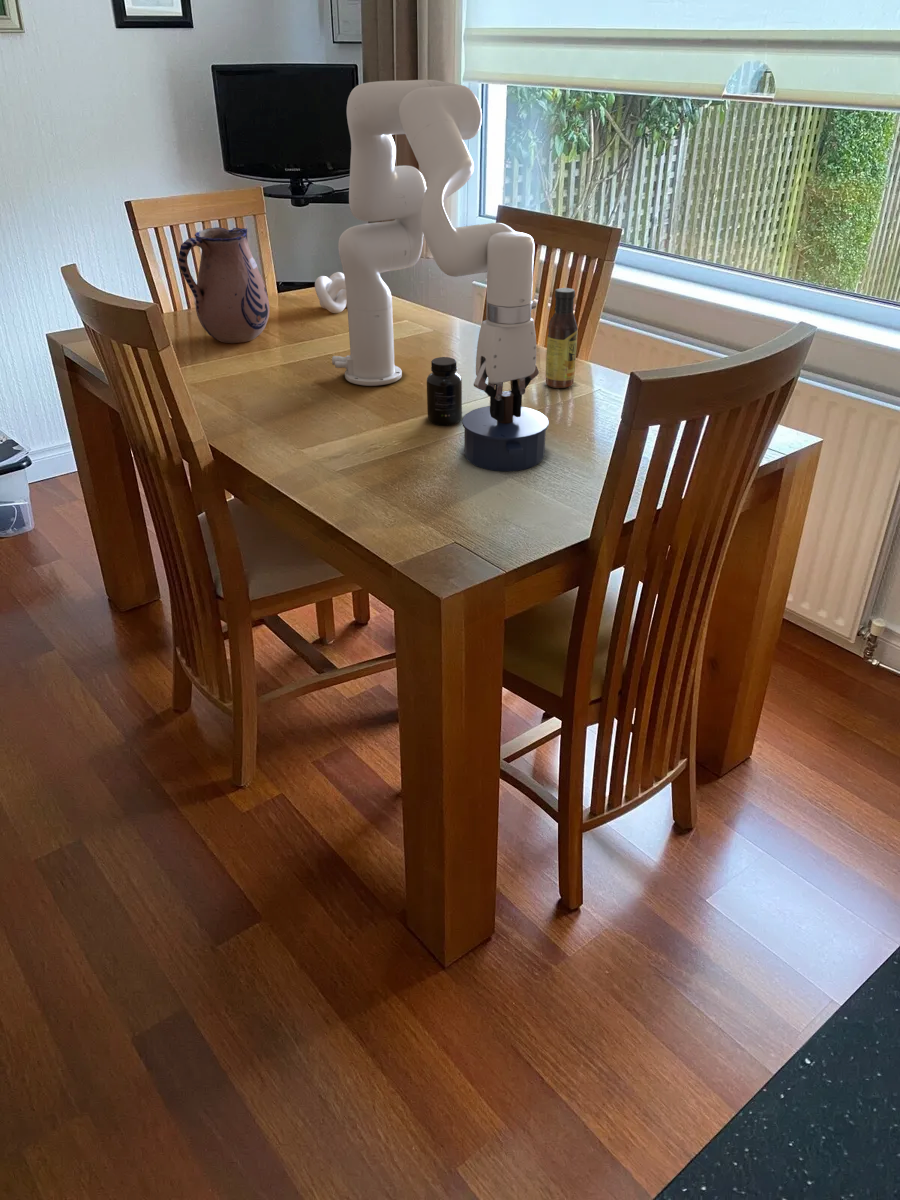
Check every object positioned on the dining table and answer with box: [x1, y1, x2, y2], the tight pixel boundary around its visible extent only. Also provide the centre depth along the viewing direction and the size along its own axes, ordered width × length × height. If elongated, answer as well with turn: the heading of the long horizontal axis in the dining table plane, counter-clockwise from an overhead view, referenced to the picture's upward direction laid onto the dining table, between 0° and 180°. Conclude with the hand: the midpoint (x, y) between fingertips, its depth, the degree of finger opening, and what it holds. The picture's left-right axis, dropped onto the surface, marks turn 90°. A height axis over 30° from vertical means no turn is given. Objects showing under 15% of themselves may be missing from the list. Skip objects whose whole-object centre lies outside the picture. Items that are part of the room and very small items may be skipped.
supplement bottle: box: [426, 356, 463, 427], centre depth 174 cm, size 7×7×12 cm
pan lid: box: [461, 390, 550, 441], centre depth 158 cm, size 15×15×6 cm
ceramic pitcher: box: [178, 226, 271, 344], centre depth 214 cm, size 18×21×25 cm
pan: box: [463, 427, 547, 472], centre depth 161 cm, size 14×20×6 cm
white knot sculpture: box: [314, 271, 347, 314], centre depth 240 cm, size 11×12×9 cm
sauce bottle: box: [545, 287, 579, 389], centre depth 188 cm, size 7×6×20 cm
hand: (505, 415), depth 159 cm, fingers open, 3 cm apart
